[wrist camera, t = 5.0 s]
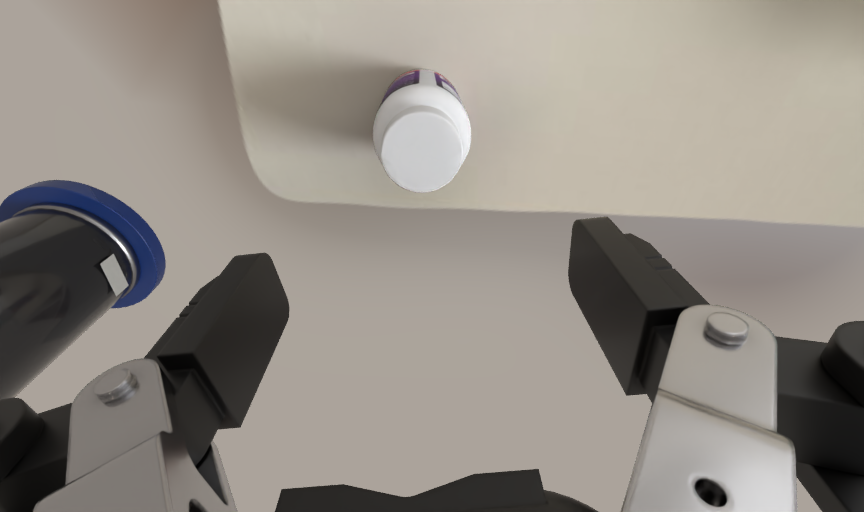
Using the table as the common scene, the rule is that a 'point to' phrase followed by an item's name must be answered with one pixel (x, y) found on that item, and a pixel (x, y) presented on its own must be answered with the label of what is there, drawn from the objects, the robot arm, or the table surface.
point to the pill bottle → (421, 131)
